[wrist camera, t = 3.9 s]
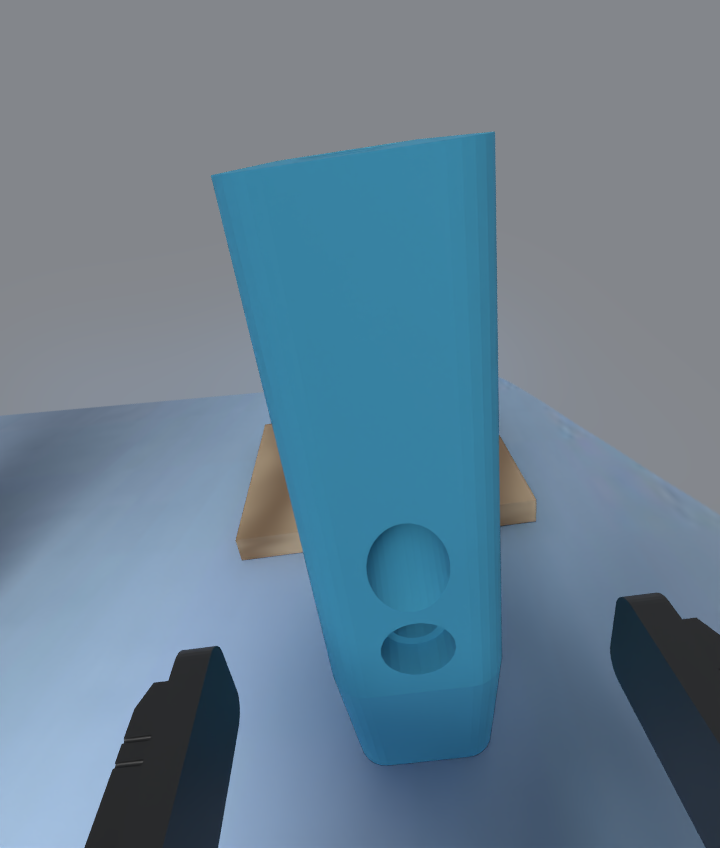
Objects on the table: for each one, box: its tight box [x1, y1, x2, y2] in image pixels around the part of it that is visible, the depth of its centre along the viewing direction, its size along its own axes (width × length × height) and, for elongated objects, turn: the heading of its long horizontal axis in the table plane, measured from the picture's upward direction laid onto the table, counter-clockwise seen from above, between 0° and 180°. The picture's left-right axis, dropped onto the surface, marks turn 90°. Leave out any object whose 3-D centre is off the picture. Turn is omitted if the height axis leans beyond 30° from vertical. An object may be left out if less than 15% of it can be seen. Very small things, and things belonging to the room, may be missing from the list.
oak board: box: [236, 424, 536, 560], centre depth 36 cm, size 17×14×2 cm
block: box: [211, 132, 502, 766], centre depth 18 cm, size 12×5×20 cm, turn 2°
